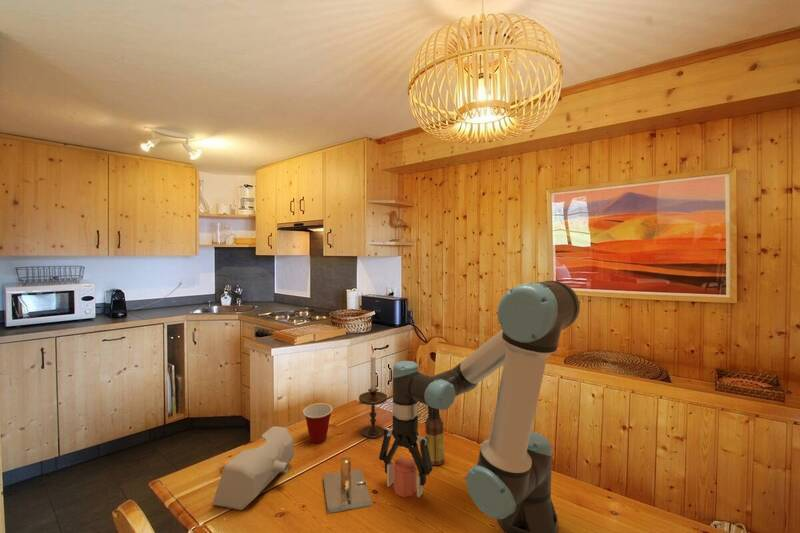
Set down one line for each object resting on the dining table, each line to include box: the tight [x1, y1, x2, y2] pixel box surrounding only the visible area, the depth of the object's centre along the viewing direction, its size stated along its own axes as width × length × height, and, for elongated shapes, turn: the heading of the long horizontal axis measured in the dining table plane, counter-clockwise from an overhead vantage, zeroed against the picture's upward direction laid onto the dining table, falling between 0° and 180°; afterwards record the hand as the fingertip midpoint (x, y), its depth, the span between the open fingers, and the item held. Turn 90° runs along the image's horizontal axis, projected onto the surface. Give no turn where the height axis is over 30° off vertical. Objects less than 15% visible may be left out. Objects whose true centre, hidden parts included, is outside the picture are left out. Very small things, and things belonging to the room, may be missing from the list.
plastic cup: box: [302, 402, 333, 445], centre depth 141 cm, size 11×11×12 cm
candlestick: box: [358, 343, 388, 440], centre depth 146 cm, size 11×11×35 cm
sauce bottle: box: [424, 405, 445, 466], centre depth 127 cm, size 6×6×20 cm
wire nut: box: [393, 457, 417, 498], centre depth 112 cm, size 6×6×8 cm
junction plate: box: [322, 456, 372, 514], centre depth 111 cm, size 16×12×10 cm
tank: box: [212, 425, 295, 511], centre depth 114 cm, size 25×16×12 cm, turn 167°
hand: (404, 489), depth 112 cm, fingers open, 9 cm apart
